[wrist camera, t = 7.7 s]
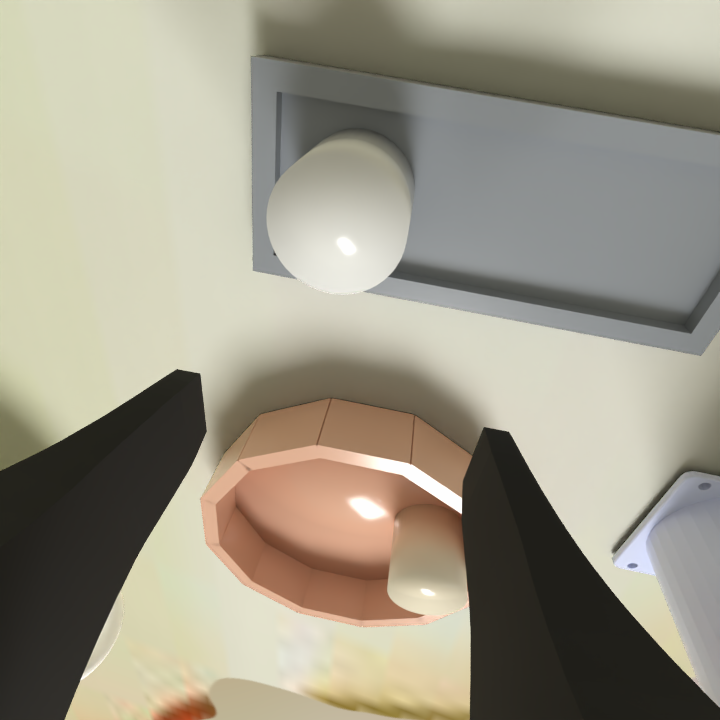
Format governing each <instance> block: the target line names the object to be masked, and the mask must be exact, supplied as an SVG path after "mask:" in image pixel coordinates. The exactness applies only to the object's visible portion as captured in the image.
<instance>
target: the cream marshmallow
mask: <svg viewBox="0 0 720 720" xmlns="http://www.w3.org/2000/svg"><path fill="white" fill-rule="evenodd" d="M387 592H388V595H389V597H390V599H391V600H392V601H393V602H394V603H395V604H397V605H398V606H400V607H402V608H403V609H406V610H408V611H411V612H414V613H418V614H423V615H434V616H437V615H447V614H451V613H454V612H457V611H459V610H460V609H462V608H463V607H464V606H465V605H466V603H467V576H466V565H465V555H464V543H463V532H462V520H461V518H460V517H459V516H458V515H457V514H456V513H455V512H453V511H452V510H450V509H448V508H445V507H442V506H439V505H433V504H417V505H412V506H409V507H406V508H404V509H403V510H401V511H400V512H399V513H398V514H397V515H396V517H395V520H394V529H393V538H392V548H391V558H390V567H389V577H388V586H387Z"/></svg>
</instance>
